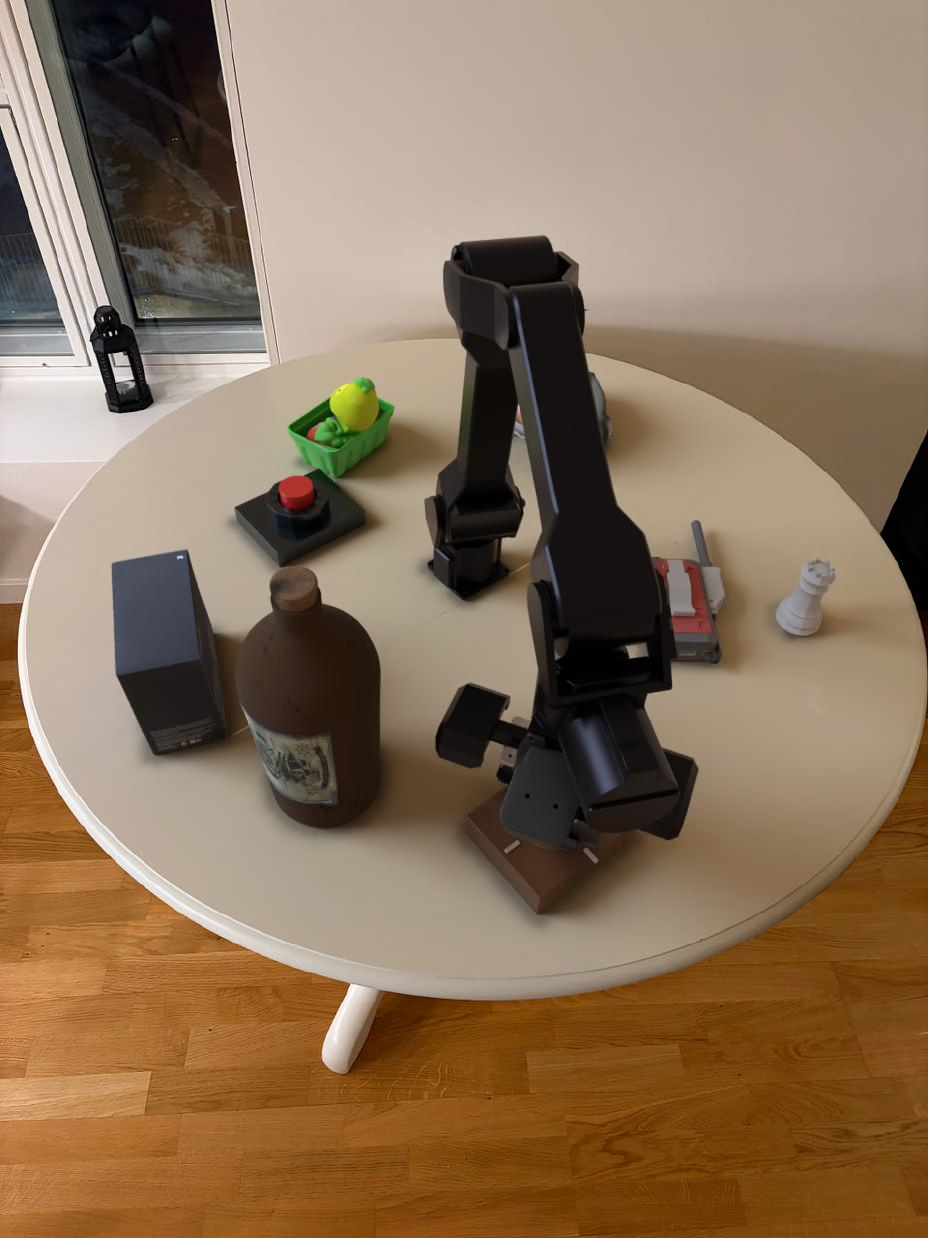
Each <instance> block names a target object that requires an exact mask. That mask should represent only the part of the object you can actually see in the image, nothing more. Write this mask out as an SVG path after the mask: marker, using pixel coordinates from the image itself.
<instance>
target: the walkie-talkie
mask: <svg viewBox="0 0 928 1238" xmlns="http://www.w3.org/2000/svg"><path fill="white" fill-rule="evenodd" d="M690 526H691V531H692V535H693V538H694V544H695V547H696V551H697V552H696V553H697V555H698V560H699V562H698V561H696V560H694V559H691V558H689V559H688V558H662V557H659V556H651V557H652V561H653V564H654V566H655V567H656V568H657V569H658V570H659V572H660V573H661V575H663V577H664V583H665V584H666V586H667V588H668V593H669V600H670V607H671V615H672V622H673V629H674V637H675V644H676V651H677V659H671V661H705V662H706V664H710V665H713V666H714V665H718V664H719V663H720V661H721V659H722V650H721V646H720V642H719V637H718V633H717V629H716V625H715V622H716V621H717V617H718V614H719V610H720V609H721V608H722V606H723V603H724V601H725V597H726V592H725V588H724V584H723V580H722V577H721V575H722V570H721V567H720V566H714V565H713V562H712V561H711V559H710V556H709V552H708V548H707V544H706V543H707V542H706V539H705V536H704V532H703V527H702V524H701V521H700V520H698V519H694V520H692V521H691V524H690ZM645 646H646V648H647V645H646V644H645ZM646 651H647V652H648V650H647V649H646ZM714 653H715V657H713V656H714Z"/></svg>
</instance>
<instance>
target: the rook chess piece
mask: <svg viewBox="0 0 928 1238" xmlns="http://www.w3.org/2000/svg"><path fill="white" fill-rule="evenodd" d="M830 564H831V561H830V560H828V559H827V558H825V560H824V561H822V557H815V558H814V559H813V558H811V559H809V560H808V562H806V563H804V564H803V565H802V566H801V569H800V572H801V573H800V574H801V576H800V577H799V579H798V586H797V587H796V589H795V590H794V592H793V593H791V594H790V595H789V596H787V597H785V598H784V599H783V600H782V601H781V602H780V603H779V605H778V608H776V610H775V619H776V622H777V624H778V625H779V627H780V628H781V629H782V630H783V631H785V632H787V634H790V635H794V636H797V637H801V636H802V637H806V636H809V635H813V634H816V632H817V631H818V630H819V629H820V626H821V623H822V620H823V611H822V606H821V602H822V599H823V596H824V594H826V593H827V592H828V590H829V586H830V585H832V584H834V583H835V582H836V579H837V578H836V577H837V576H836V573H835V570H836V567H835V565H834V564H832V565H830Z"/></svg>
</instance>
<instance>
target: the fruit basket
mask: <svg viewBox="0 0 928 1238" xmlns="http://www.w3.org/2000/svg"><path fill="white" fill-rule="evenodd" d="M395 409H396V406H395V405H394V404H392V403H390V402H388V401H385V400H384V399H382V398H380V397H378V395H377V391H376V385H375V383H374V382H373V380H371V379H370V378H367V377H362V376H361V377H360V376H359V377H356V378H355V379H354V380H352V382H348V383H345V384H343V385H341V386H339V387H337V388H336V389H335V390H334V391H333V393H332V394H331V396H329V397H328V398H326V399H324V400H323V401H322V402H321V403H319V404H318V405H316V406H314V407H313V408H312V409H310V410H309V411H307V412H305V413H304V414H303V415H300V417H298V418H296V420H293V421H292V422H291V423H289V424H288V425H287V426H286V431H287V433H288V434H289V436H290V438H292V439H293V442H294V443H295V446H296V447H297V448H296V449H297V450H298V452H299V454H300V456H301V458H302V460H303V462H304V463H305V464H307V465H311V466H312V467H313V468H315V469H316V470H317V469H319V468H320V469H321V470H322V471H323V472H324V473H325V474H327V475H330V476H331V477H332V478H334V479H338V478H339V477H340V476H342V475H343V474H344V473H345V472H346V470H348V469H351V468H352V467H353V466H355V465H356V464H357V463H358V462H359V461H360V460H361V459H363V458H365V457H366V456H368V455H369V454H370V453H372V452H373V450H374V449H376V448H378V447H379V446H381V445H382V444H383V443H384V442H385V439H386V436H387V433H388V432H387V431H388V429H389V425H390V421H391V419H392V417H393V415H394V412H395Z"/></svg>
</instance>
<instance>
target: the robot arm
mask: <svg viewBox="0 0 928 1238" xmlns="http://www.w3.org/2000/svg"><path fill="white" fill-rule="evenodd" d="M449 259H450V260H449ZM449 259H448V260H444V263H443V266H442V267H443V268H442V288H443V296H444V303H445V306H446V309H447V312H448V314H449V315H450V316H451V318H452V320H453V322H454V324H455V328H456V330H457V334H458V338H459V342H460V345H461V346H462V348H463V349H464V350H465V352H466V353H465V362H464V363H465V364H464V373H463V385H462V397H461V408H460V417H459V418H460V419H459V429H458V430H459V431H458V438H457V439H458V440H457V452H456V457H455V458H454V459H453V460H452V461H451V462H450V463H448V464H447V465H445V467H443V469H442V470H441V471H439V472H438V475H437V478H436V485H435V486H436V487H435V495H430V496H428V497H426V498H424V499H423V500H424V502H423V503H424V514H425V521H426V525H427V529H428V532H429V536H430V539H431V542H432V546H433V558H432V559H430V560H428V561H427V564H426V567H427V569H428V570H429V572H431V573H432V574H433V576H434V577H435V578H436V579H437V580H438V581H439V582H440V583H442V585H444V587H446V588H447V589H449V590H451V592H453V593H454V594H455V595H456V596H457V597H458V598H459V599H460V600H462V601H468V600H470V599H471V598H473V597H475V596H477V595H478V594H481V593H482V592H483V591H485V590H487V589H488V588H490V587H492V586H494V585H495V584H497V583H499V582H501V581H502V580H504V579H505V578H507V577H509V576H510V574H511V569H510V568H509V567H508V566H506V565H505V564H504V563H503V562H502V561H501V557H502V544H503V539H506V538H510V539H514V538H515V539H516V537H517V534H518V532H519V530H520V526H521V524H522V520H523V517H524V514H525V511H524V508H525V507H526V499H525V498H524V497H522V494H521V491H520V488H519V487H518V485H516V484H515V481H514V478H513V474H512V470H511V467H510V464H509V463H510V459H511V458H510V457H511V452H512V448H513V447H512V446H513V439H514V435H515V434H514V429H515V423H516V417H517V411H518V405H519V408H520V413H521V419H522V424H523V429H524V434H525V444H526V451H527V454H528V455H527V456H528V460H529V466H530V470H531V476H532V481H533V486H534V487H533V488H534V491H535V496H536V501H537V507H538V513H539V518H540V526H541V532H540V535H539V538H538V540H537V543H536V545H535V548H534V551H533V553H532V556H531V559H530V561H529V565H528V567H529V568H528V569H529V576H530V581H531V582H529V583H528V585H527V591H526V607H527V615H528V621H529V627H530V632H531V637H532V642H533V648H534V654H535V655H534V656H535V660H536V665H537V675H536V681H535V689H534V695H533V702H532V709H531V717H530V719H526V718H523V717H520V716H514V717H513V718H512V719H511V722H508V721H505V720H503V719H502V716H503V714H504V713H505V711H508V709H509V707H510V705H511V695H509V694H506V693H503V692H500V691H497V690H494V689H491V688H488V687H485V686H481V685H479V684H476V683H474V682H471V681H470V682H467V683H466V684H464V685H461V686H460V687H458V688H457V690H456V692H455V694H454V695H453V697H452V699H451V701H450V704H449V705H448V708H447V709H446V711H445V713H444V715H443V717H442V718H441V721H440V722H439V725H438V727H437V730H436V732H435V733H436V735H435V737H434V738H435V740H434V750H435V753H436V755H437V757H438V758H439V759H442V760H444V761H448V762H450V763H452V764H455V765H458V766H461V767H464V768H467V769H469V770H473V769H479V768H481V767H482V766H483V763H484V760H485V753H486V751H487V749H488V747H489V744H490V742H493V743H495V744H499V745H502V751H501V754H500V756H499V763H500V764H499V767H498V768H497V771H496V773H495V774H496V775H495V776H496V779H497V781H498V782H499V783H502V784H503V785H506V786H507V785H509V788H508V791H507V793H506V796H505V799H504V802H503V804H502V807H501V810H500V818H501V821H502V824H503V827H504V829H505V830H506V832H507V833H508V834H510V835H512V836H514V837H517V838H520V839H523V840H526V841H529V842H531V843H534V844H536V845H539V846H542V847H544V848H546V849H549V850H552V851H560V850H563V849H565V850H567V851H570V852H573V853H575V854H578V855H579V854H580V851H581V848H582V847H583V846H584V845H587V846H590V847H593V848H595V847H597V844H598V841H599V838H600V835H601V832H602V833H621V832H627V831H631V830H635V829H636V830H638V831H640V832H643V833H646V834H649V835H652V836H654V837H657V838H659V839H662V840H666V841H667V842H669V841H672V840H674V839H678V838H679V837H680V834H681V832H682V830H683V827H684V825H685V821H686V818H687V815H688V811H689V808H690V803H691V800H692V797H693V792H694V789H695V786H696V782H697V778H698V774H699V772H700V771H699V769H700V767H699V766H698V764H697V762H696V760H695V758H694V757H692V756H689V755H687V754H683V753H680V752H677V751H674V750H671V749H668V748H665V747H662V745H661V743H660V740H659V738H658V735H657V732H656V731H655V729H654V726H653V724H652V722H651V719H650V717H649V714H648V713H647V710H646V708H645V707H646V701H647V697H648V694H653V693H661V692H667V691H672V689H673V675H672V674H673V673H672V660H671V659H677V651H676V644H675V637H674V629H673V622H672V615H671V607H670V600H669V593H668V588H667V586H666V584H665V583H664V577H663V575H661V573H660V572H659V570H658V569H657V568H656V567H655V566H654V564H653V561H652V557H653V556H652V553H651V551H650V547H649V543H648V540H647V537H646V533H645V532H644V531H643V530H642V529H641V528H640V527H639V526H638V524H636V522H635V521H633V520H632V518H630V516H629V515H628V514H627V513H626V512H625V511H624V510H623V509H622V508H621V507H620V506H619V504H618V501H617V497H616V494H615V490H614V486H613V481H612V477H611V472H610V467H609V461H608V456H607V452H606V447H605V444H604V442H603V437H602V432H601V427H600V422H599V417H598V413H597V408H596V403H595V398H594V393H593V388H592V383H591V379H590V374H589V372H590V369H589V364H588V361H587V355H586V350H585V345H584V340H583V337H584V333H585V326H586V309H585V302H584V301H585V300H584V297H583V293H582V291H581V289H580V288H579V277H580V264H579V262H577V261H576V260H574V259H573V258H572V257H570V256H569V255H568V254H567V253H565V252H564V251H562V250H561V251H560V250H559V251H554V248H553V245H552V242H551V241H550V239H549V237H548V236H546V235H545V234H542V235H531V236H529V235H527V236H517V237H503V238H493V239H480V240H466V241H461V242H459V243H458V244H455V245H454V246H453V247H452V248H451V252H450V258H449ZM644 644H645V646H646V645H647V647H646V651H647V650H648V651H647V655H644V656H636V657H630V654H629V651H628V648H627V647H630V646H636V645H644Z"/></svg>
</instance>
